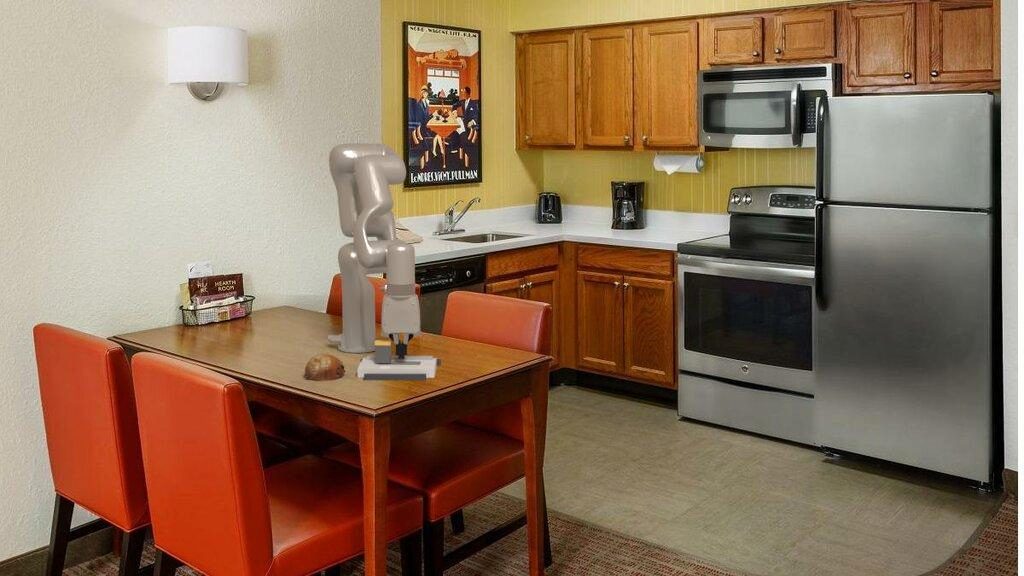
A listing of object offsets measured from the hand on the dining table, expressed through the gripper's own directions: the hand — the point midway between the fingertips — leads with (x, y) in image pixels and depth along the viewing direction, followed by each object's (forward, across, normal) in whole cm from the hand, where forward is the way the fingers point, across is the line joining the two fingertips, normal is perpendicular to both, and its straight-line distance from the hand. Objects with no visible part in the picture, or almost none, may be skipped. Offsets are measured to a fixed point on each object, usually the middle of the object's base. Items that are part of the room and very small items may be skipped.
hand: (401, 357), depth 258 cm
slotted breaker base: (+4, -1, 0) cm, 4 cm away
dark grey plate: (+4, -1, 0) cm, 4 cm away
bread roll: (+4, -20, -4) cm, 21 cm away
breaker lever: (+1, -5, 0) cm, 5 cm away
